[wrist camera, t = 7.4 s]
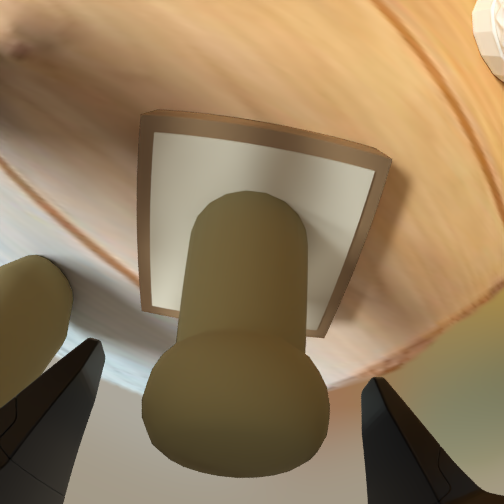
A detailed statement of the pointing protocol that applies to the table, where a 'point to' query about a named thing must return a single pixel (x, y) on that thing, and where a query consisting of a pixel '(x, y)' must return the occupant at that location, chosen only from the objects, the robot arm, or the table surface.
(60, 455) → the robot arm
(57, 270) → the squeeze bottle
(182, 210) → the walnut picture frame
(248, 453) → the cork
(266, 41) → the table surface
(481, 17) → the white cup
